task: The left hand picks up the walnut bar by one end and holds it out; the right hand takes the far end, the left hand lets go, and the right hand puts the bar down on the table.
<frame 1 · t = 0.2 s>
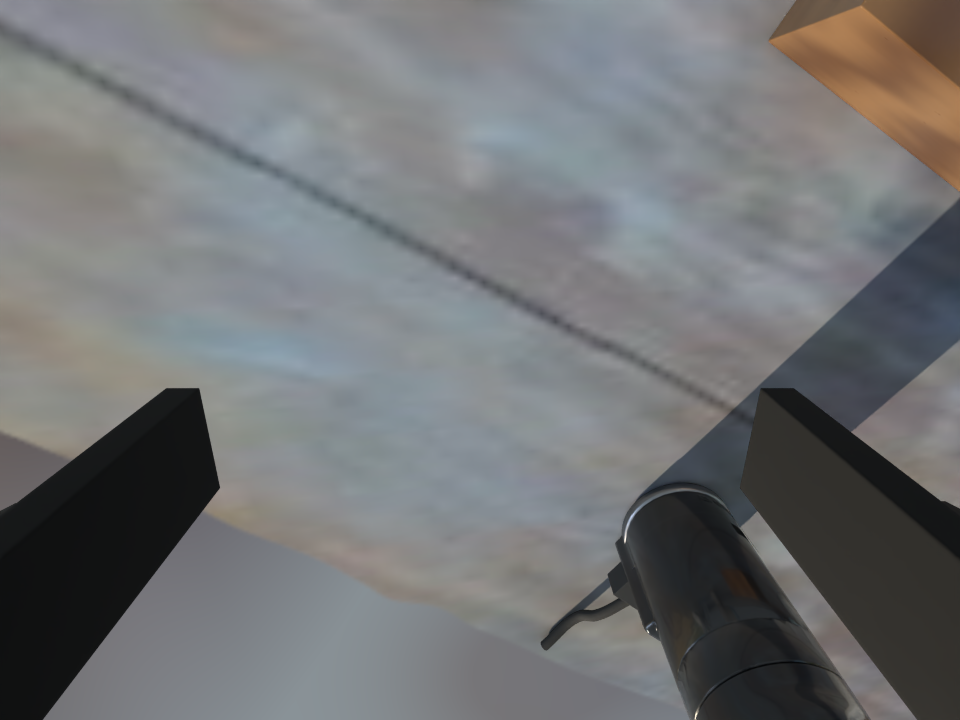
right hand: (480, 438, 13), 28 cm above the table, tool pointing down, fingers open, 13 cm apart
bar: (939, 122, 36), on the table
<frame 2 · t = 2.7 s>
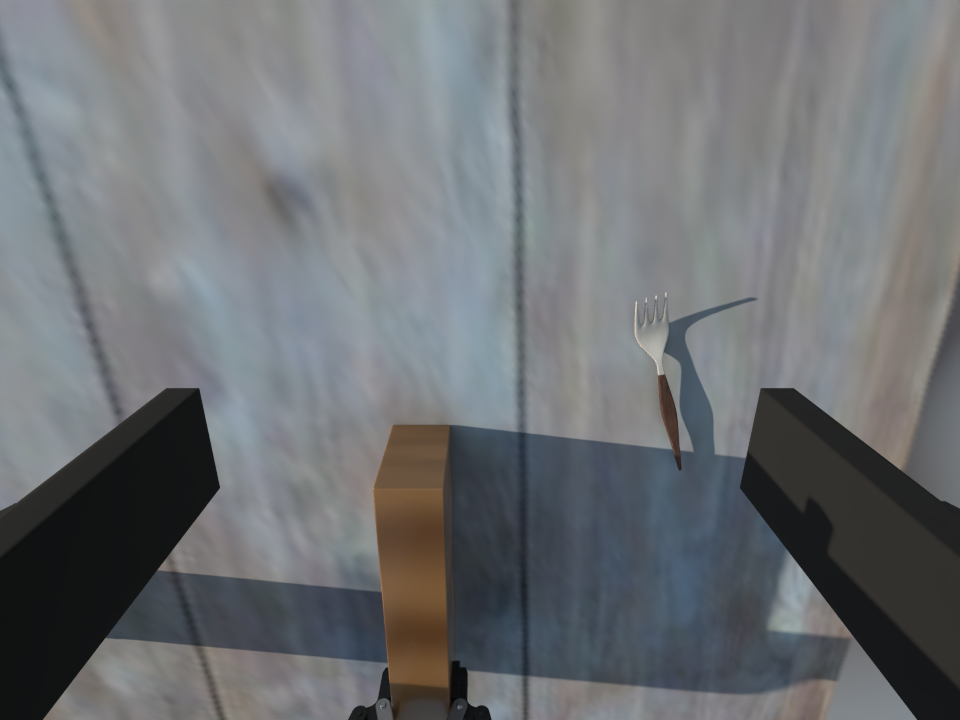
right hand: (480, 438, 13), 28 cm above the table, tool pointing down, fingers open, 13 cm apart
fork: (661, 383, 43), on the table
bar: (427, 551, 49), on the table, touching left hand
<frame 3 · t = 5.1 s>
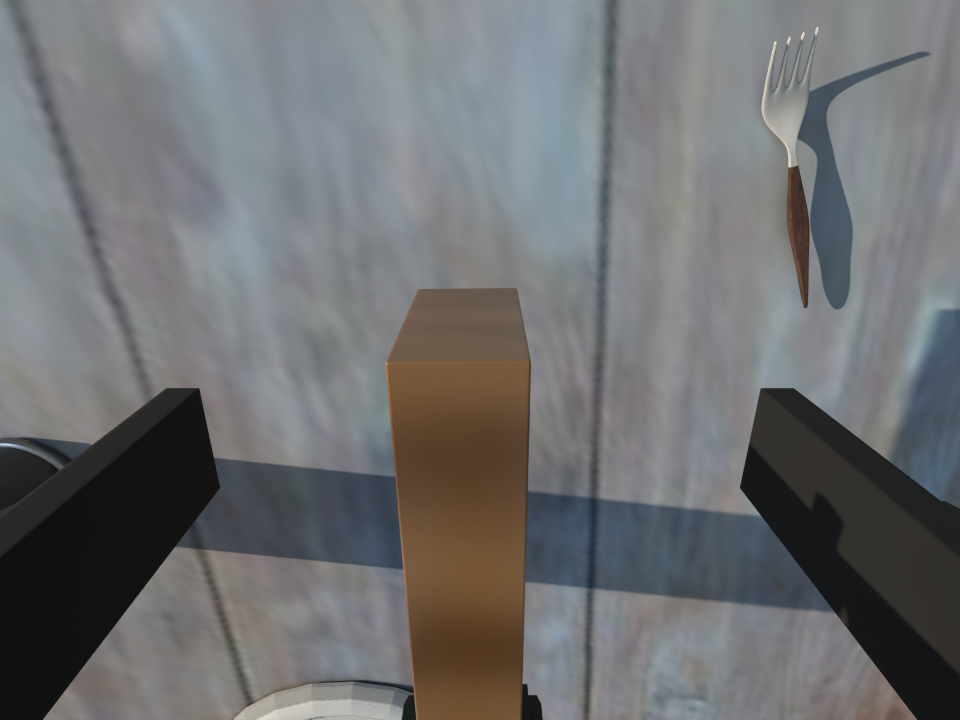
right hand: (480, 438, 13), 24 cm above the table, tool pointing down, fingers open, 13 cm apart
fork: (789, 184, 33), on the table
bar: (472, 510, 31), point 10 cm above the table, touching left hand
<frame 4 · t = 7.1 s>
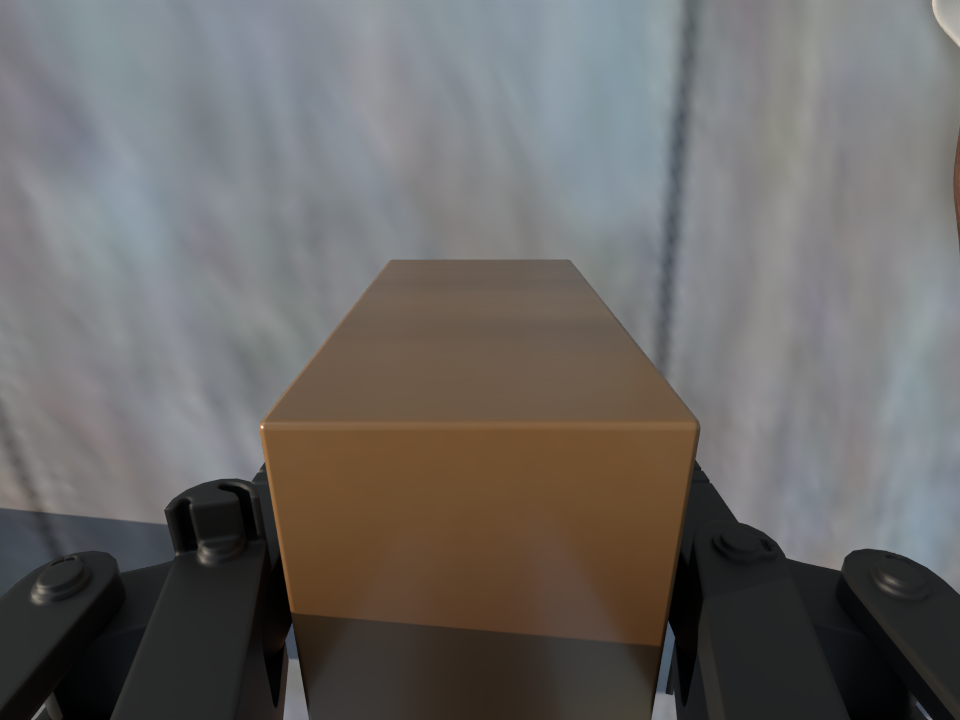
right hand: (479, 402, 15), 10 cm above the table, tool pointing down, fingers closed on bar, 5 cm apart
fork: (958, 119, 22), on the table
bar: (480, 632, 19), point 10 cm above the table, touching right hand, left hand
when the left hand's fingers open (14 cm above the table, at t = 7.9 s): bar stays where it is, held by the right hand.
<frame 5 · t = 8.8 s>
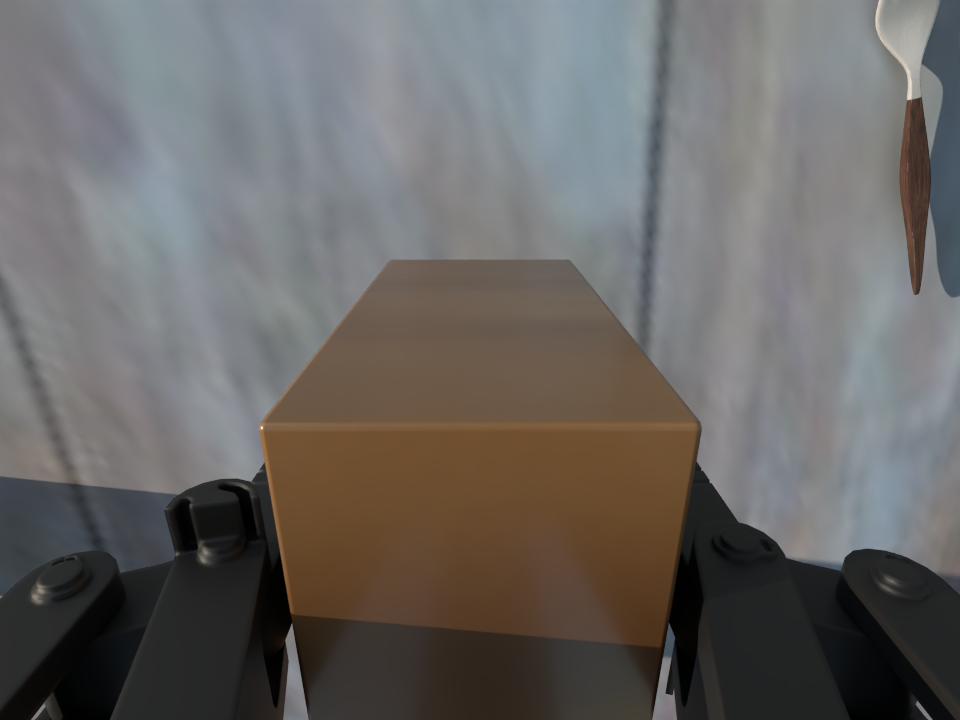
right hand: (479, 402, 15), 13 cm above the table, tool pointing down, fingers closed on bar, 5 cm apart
fork: (903, 126, 24), on the table
bar: (480, 632, 19), point 13 cm above the table, touching right hand
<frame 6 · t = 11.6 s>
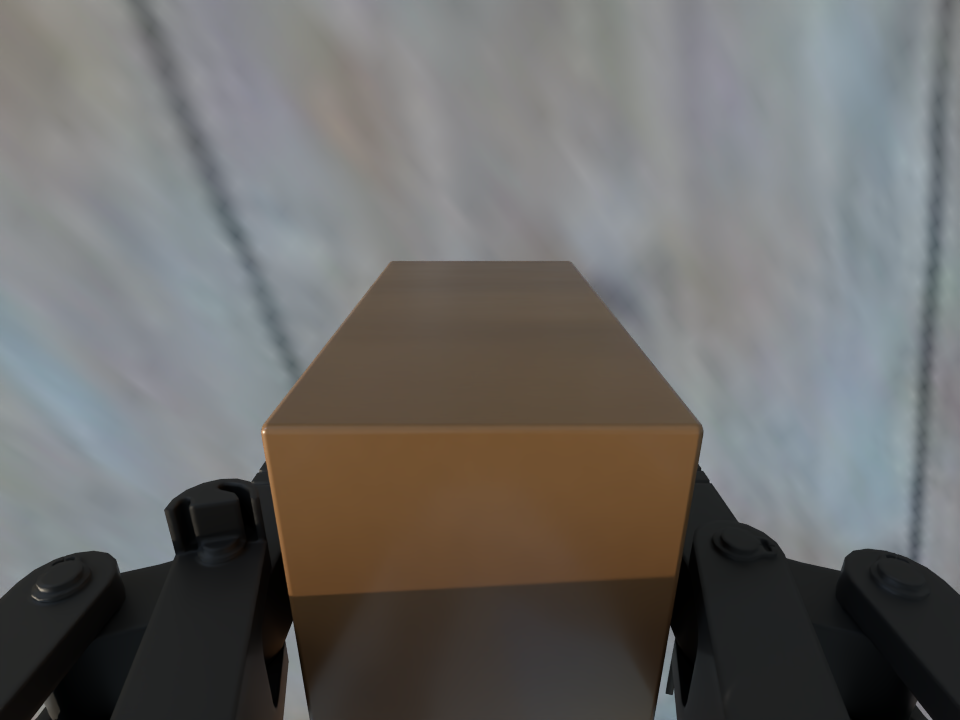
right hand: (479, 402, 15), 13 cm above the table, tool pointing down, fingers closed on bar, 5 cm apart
bar: (480, 633, 19), point 13 cm above the table, touching right hand
when the right hand's fingers open (3 cm above the table, at t = 16.4 s): bar drops 2 cm, on the table.
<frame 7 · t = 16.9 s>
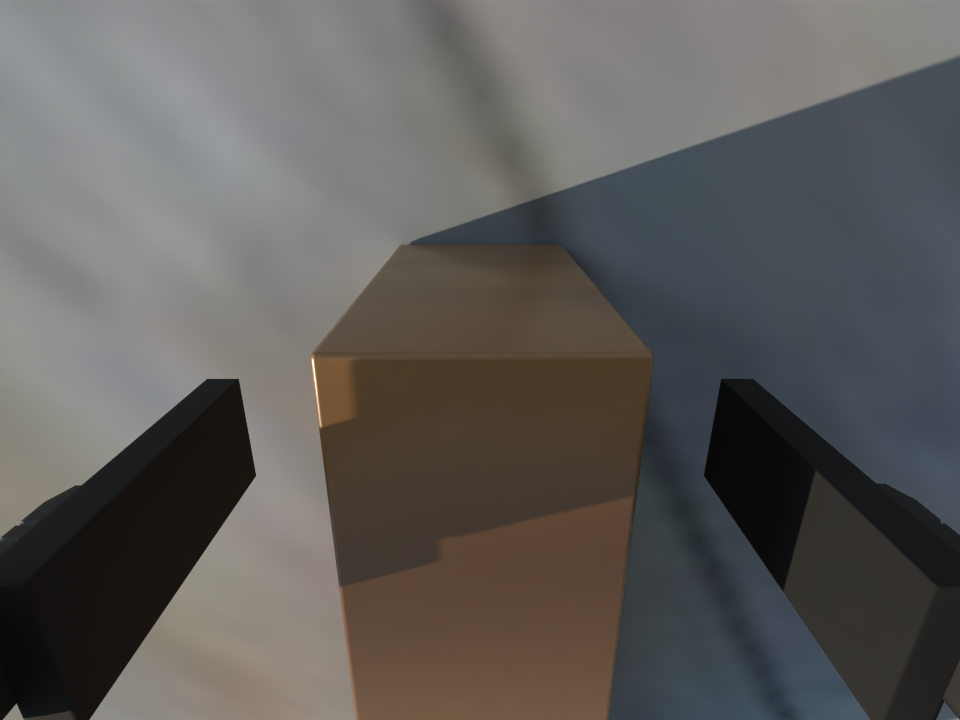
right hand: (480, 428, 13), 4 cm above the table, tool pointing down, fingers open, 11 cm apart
bar: (481, 591, 20), on the table
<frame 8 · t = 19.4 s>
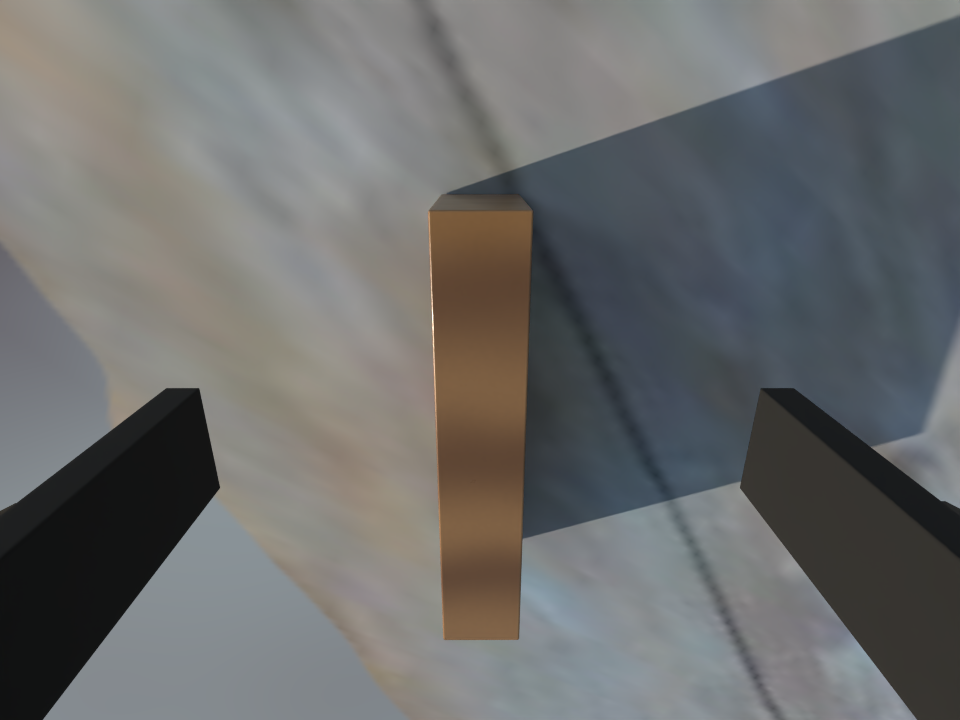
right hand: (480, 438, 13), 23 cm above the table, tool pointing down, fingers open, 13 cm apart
bar: (480, 390, 37), on the table
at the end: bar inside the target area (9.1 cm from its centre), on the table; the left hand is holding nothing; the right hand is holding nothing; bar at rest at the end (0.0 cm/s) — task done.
